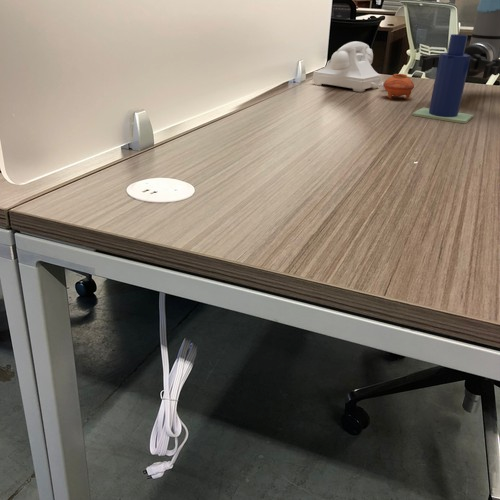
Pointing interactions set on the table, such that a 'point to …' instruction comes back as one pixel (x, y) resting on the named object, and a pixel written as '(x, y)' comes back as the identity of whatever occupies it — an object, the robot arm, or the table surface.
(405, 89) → the pot
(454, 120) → the mat
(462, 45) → the bottle
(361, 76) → the telephone
